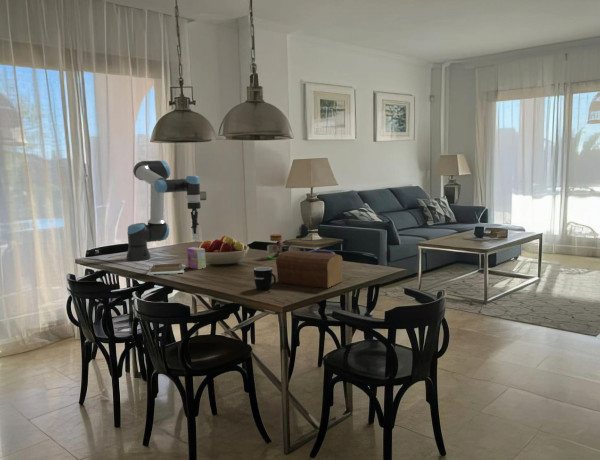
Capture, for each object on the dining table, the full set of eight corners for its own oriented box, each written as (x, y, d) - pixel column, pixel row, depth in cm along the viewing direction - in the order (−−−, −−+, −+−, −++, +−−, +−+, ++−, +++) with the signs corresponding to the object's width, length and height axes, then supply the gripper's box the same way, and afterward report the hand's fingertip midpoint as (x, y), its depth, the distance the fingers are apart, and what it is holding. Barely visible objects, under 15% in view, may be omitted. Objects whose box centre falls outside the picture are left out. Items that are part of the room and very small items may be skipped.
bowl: (312, 273, 290) (312, 255, 288) (300, 267, 306) (299, 250, 305) (341, 270, 297) (341, 252, 295) (327, 264, 313) (327, 248, 312)
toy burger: (290, 257, 339) (289, 234, 337) (273, 260, 332) (272, 236, 330) (280, 255, 348) (279, 233, 347) (264, 257, 341) (263, 234, 340)
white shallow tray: (151, 268, 313) (151, 263, 312) (185, 266, 316) (185, 261, 316) (146, 275, 291) (146, 270, 291) (183, 273, 294) (183, 268, 294)
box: (187, 267, 313) (186, 248, 311) (195, 266, 317) (194, 246, 315) (198, 269, 306) (197, 249, 304) (205, 268, 310) (205, 248, 308)
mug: (250, 289, 254) (249, 269, 253) (261, 286, 261) (261, 266, 260) (270, 292, 247) (269, 271, 246) (281, 288, 255) (280, 268, 253)
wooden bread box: (293, 276, 282) (293, 247, 280) (343, 282, 267) (343, 251, 265) (275, 283, 267) (274, 252, 265) (327, 289, 252) (327, 256, 250)
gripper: (188, 200, 318) (189, 235, 320) (186, 203, 293) (188, 240, 296) (200, 200, 319) (202, 234, 322) (199, 203, 295) (201, 240, 297)
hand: (195, 237), depth 309 cm, fingers open, 13 cm apart
